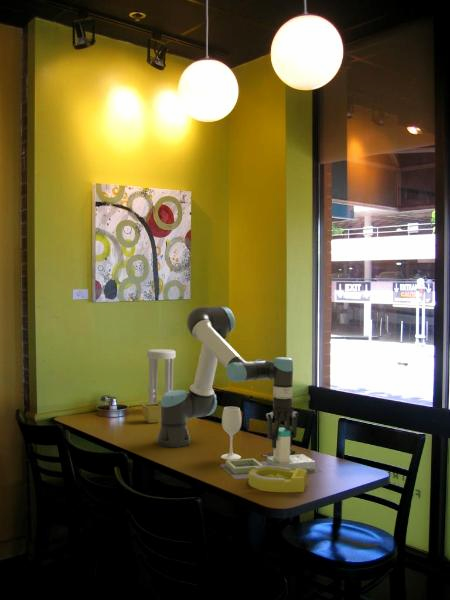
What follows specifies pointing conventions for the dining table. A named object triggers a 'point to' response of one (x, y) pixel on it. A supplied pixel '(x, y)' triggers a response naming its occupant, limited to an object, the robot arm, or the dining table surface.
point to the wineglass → (231, 427)
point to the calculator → (273, 454)
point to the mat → (246, 475)
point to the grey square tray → (233, 463)
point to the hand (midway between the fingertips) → (281, 455)
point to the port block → (295, 462)
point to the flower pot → (152, 412)
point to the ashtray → (278, 479)
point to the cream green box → (283, 446)
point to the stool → (153, 371)
